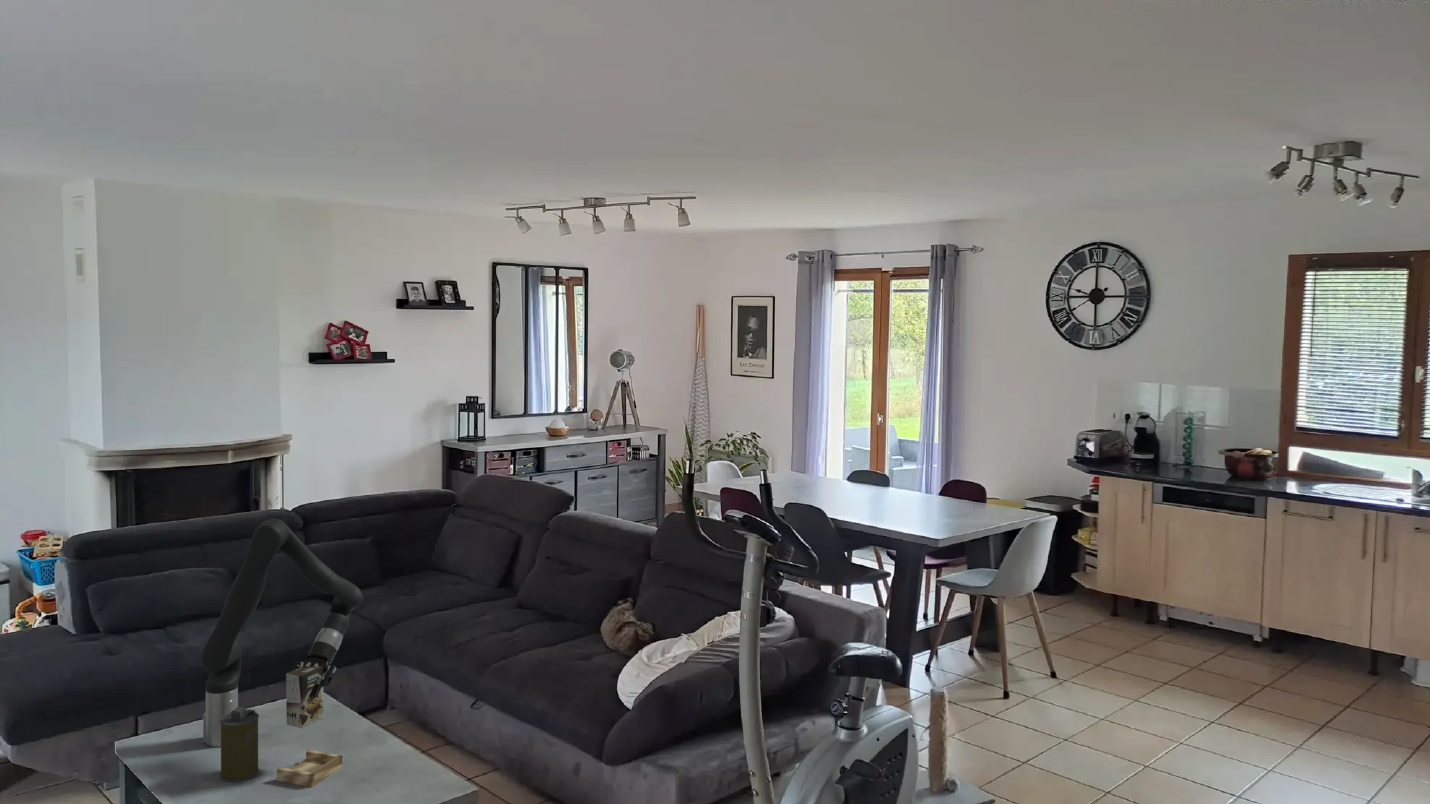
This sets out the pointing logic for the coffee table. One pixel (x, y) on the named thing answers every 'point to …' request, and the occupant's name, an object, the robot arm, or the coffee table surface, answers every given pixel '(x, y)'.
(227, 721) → the canister
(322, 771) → the oak cradle
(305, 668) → the coffee box
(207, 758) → the coffee table surface
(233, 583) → the robot arm
